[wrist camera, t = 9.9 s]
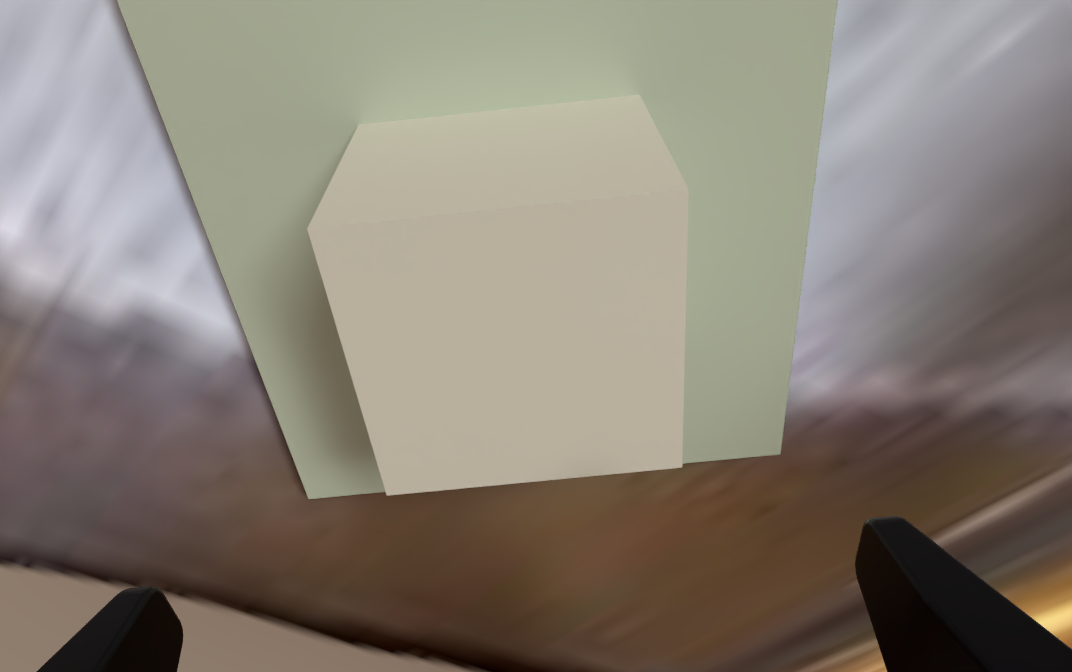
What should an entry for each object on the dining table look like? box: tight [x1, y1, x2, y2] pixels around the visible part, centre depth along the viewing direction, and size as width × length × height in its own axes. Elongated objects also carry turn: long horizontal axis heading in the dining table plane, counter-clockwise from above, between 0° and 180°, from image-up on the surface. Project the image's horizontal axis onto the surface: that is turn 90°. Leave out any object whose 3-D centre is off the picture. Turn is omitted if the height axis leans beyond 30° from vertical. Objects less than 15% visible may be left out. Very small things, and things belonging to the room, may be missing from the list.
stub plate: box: [117, 0, 838, 499], centre depth 17 cm, size 14×16×4 cm
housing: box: [307, 95, 689, 496], centre depth 15 cm, size 6×6×5 cm
